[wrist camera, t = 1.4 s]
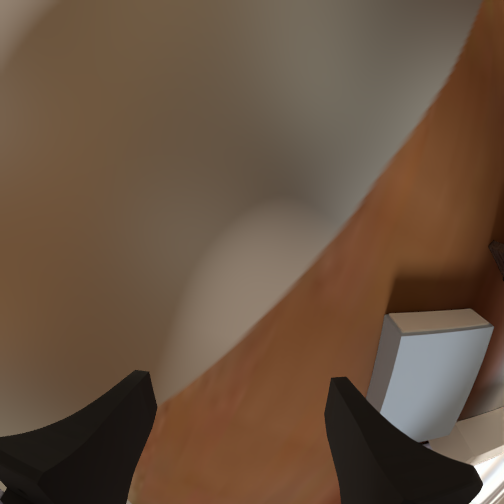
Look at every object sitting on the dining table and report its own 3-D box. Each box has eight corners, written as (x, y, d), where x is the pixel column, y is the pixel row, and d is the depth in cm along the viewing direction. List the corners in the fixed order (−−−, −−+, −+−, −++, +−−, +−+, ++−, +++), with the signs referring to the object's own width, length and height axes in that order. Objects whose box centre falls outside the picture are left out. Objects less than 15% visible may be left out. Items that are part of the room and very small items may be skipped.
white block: (435, 410, 25) (449, 434, 21) (357, 422, 25) (365, 451, 21) (470, 306, 22) (494, 324, 18) (383, 310, 22) (402, 334, 18)
